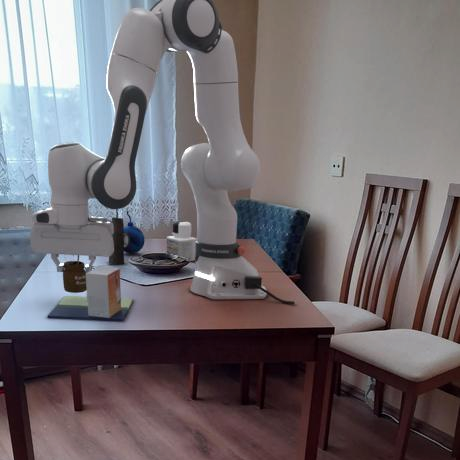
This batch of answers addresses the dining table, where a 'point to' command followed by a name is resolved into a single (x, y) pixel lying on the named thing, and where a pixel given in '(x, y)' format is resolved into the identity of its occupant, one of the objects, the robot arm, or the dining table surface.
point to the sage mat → (82, 302)
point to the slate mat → (83, 314)
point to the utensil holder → (74, 276)
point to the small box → (103, 291)
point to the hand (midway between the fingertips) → (74, 272)
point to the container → (182, 241)
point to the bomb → (133, 238)
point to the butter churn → (118, 241)
